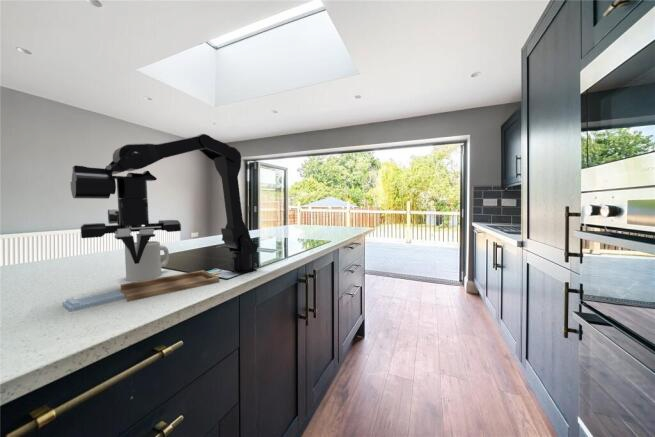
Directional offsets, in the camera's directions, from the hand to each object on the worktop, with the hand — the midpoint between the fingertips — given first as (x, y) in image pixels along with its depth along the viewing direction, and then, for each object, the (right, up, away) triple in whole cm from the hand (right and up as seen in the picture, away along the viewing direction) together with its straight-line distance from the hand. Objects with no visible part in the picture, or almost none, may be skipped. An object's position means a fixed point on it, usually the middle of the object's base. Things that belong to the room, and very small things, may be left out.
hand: (136, 263), depth 62 cm
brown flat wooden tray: (+5, -8, +5) cm, 11 cm away
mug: (-7, -7, +15) cm, 19 cm away
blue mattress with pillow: (-5, -9, -6) cm, 11 cm away
